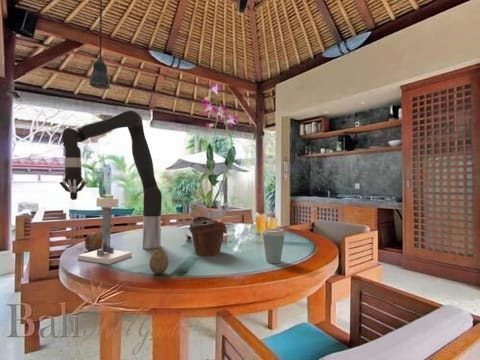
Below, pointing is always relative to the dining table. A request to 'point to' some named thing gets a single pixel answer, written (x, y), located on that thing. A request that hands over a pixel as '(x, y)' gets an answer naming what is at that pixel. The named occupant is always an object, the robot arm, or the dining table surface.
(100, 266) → the dining table surface
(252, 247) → the dining table surface
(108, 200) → the post
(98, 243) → the brown textured slab
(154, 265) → the decorative egg
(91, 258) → the base plate
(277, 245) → the disposable coffee cup
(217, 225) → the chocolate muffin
